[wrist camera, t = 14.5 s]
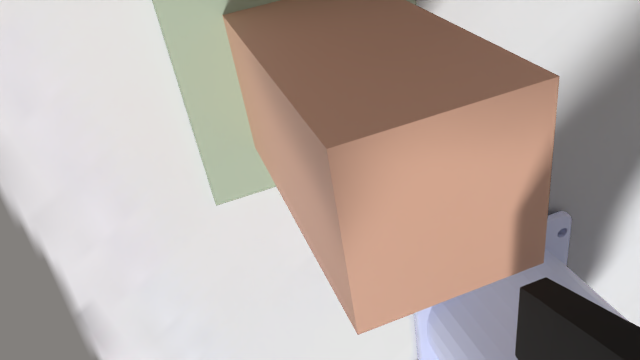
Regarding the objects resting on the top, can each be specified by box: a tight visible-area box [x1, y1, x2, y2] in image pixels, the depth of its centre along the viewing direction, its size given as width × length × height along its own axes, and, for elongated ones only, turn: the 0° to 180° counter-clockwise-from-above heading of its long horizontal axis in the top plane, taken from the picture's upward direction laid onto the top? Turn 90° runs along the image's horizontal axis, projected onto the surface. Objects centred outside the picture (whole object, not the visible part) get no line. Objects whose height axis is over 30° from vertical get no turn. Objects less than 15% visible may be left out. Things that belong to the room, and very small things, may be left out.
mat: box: [152, 0, 416, 206], centre depth 19 cm, size 8×8×1 cm
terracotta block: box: [222, 0, 559, 335], centre depth 15 cm, size 4×4×9 cm
